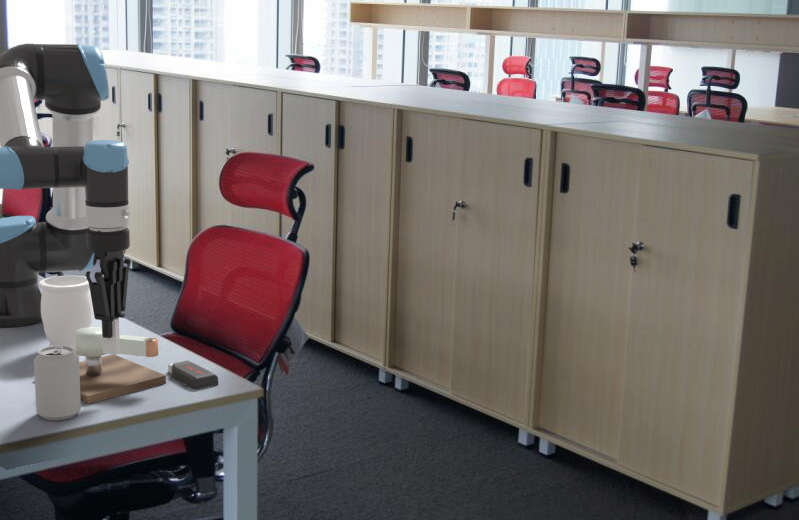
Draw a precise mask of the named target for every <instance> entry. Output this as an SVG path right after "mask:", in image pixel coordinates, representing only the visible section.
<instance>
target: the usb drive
mask: <svg viewBox="0 0 799 520" xmlns="http://www.w3.org/2000/svg"><path fill="white" fill-rule="evenodd" d="M167 366H168V371H167V372H168V373H169V374H171V377H172V378H173V379H174V380H176V381H178V382H180V383H181V384H184V386H187V387H189V388H191V389H193V390H195V391H196V390H200V388H201V389H205V388H208V386H210V387H213V386H217V385H219V377H218V375H217V374H215V373H214V372H212V371H210V370H208V369H206V368H204V367H202V366H200V365H199V364H196V363H194V362H192V361H189V360H184V361H178V362H172V363H168V365H167ZM212 385H213V386H212ZM204 387H205V388H204Z"/></svg>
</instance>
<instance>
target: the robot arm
mask: <svg viewBox="0 0 799 520" xmlns="http://www.w3.org/2000/svg"><path fill="white" fill-rule="evenodd" d="M109 98H110V88H109V79H108V73H107V68H106V63H105V59H104V56H103V53H102V50H101V49H100V48H99V47H97V46H95V45H85V44H80V43H77V44H69V43H67V44H65V43H63V44H60V43H59V44H57V43H54V44H53V43H52V44H51V43H44V44H43V43H23V44H17V45H15V46H13V47H9V49H6V50H5V51H3V52H2V53H0V190H2V189H4V190H15V191H20V190H29V189H30V190H32V189H51V188H52V208H51V209H49V211H47V213H46V215H45V221H41V222H37V220H36V219H35V217H34V216H32V215H15V216H14V215H13V216H9V217H7V216H6V217H1V218H0V328H2V327H3V328H4V327H5V328H8V327H10V328H12V327H13V328H14V327H23V326H28V325H34V324H38V323H40V322H43V321H42V317H41V296H42V292H41V291H42V290H41V289H40V285H39V279H38V278H39V277H38V274H41V273H57V272H73V271H76V272H77V271H78V272H84V271H86V270H91V271H86V272H85V277H86V278H87V280H88V283H89V289H90V293H91V299H92V305H93V316H94V317H93V318H94V319H95V320H97V321H98V320H99V321H101V327H102V347H103V353H104V354H105V355H112V354H114V355H117V356H118V355H119V354H118V353H120V335H121V334H120V318H122V319H124V318H125V316H126V314H125V313H122V312H125V311H126V305H127V304H126V303H127V297H128V296H127V292H128V282H129V272H130V268H131V263H132V261H131V259H130V258H126V257H125V253H124V251H126V250H128V249H129V248H130V245H131V244H130V243H131V241H130V229H129V228H128V227H127V226H129V224H130V215H131V211H130V210H129V163H130V160H129V158H128V146H127V144H125V142H123V141H118V140H109V139H108V140H107V139H106V140H105V139H103V140H102V139H100V140H98V139H97V140H94V115H95V114H97V113H98V112H100V110H101V108H102V107H101V106H102V103H101V101H103V102H105V101H107V100H108V99H109ZM35 100H36V101H37V100H38V101H40V100H42V101H44V107H45V108H46V109H47V110H48V111H49V112H50V113H51V114H52V146H45V145H44V142H43V137H42V134H41V129H40V123H39V119H38V114H37V109H36V106H35Z"/></svg>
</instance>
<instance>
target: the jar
mask: <svg viewBox="0 0 799 520" xmlns="http://www.w3.org/2000/svg"><path fill="white" fill-rule="evenodd" d="M39 288H41V290H42V292H41V294H42V296H41V317H42V321H41V322H42V324H43V329H44V335H45V336H46V337H45V338H46V339H47V341H48V342H49V344H48V346H55V345H64V346H70V347H73V348H74V349H75V353H76V341H75V331H77V330H78V329H81V328H86V327H92V320H93V316H94V311H93V305H92V299H91V293H90V287H89V283H88V280H87V278H86V276H83V275H57V276H50V277H46V278H43V279H41V280H40V281H39Z"/></svg>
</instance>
